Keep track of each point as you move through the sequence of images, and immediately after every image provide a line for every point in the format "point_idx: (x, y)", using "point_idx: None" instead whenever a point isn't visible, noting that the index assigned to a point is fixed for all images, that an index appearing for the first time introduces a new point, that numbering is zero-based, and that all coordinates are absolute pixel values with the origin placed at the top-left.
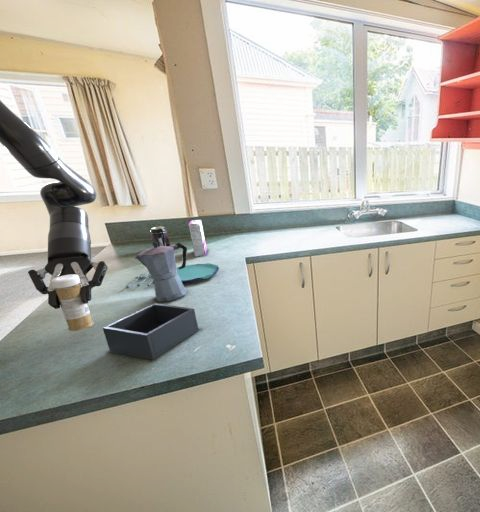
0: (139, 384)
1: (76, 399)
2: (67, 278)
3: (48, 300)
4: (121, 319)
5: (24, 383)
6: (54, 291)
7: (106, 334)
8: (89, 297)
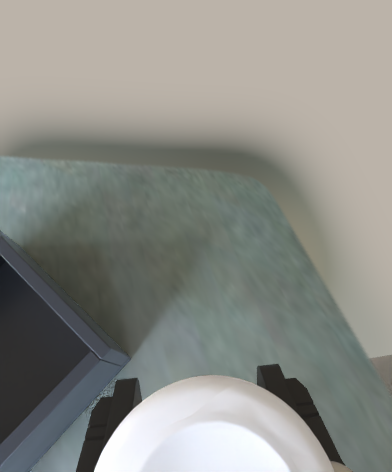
0: (52, 164)
1: (158, 170)
2: (163, 431)
3: (312, 403)
4: (46, 408)
5: (292, 283)
6: None
7: (109, 343)
8: (96, 412)
